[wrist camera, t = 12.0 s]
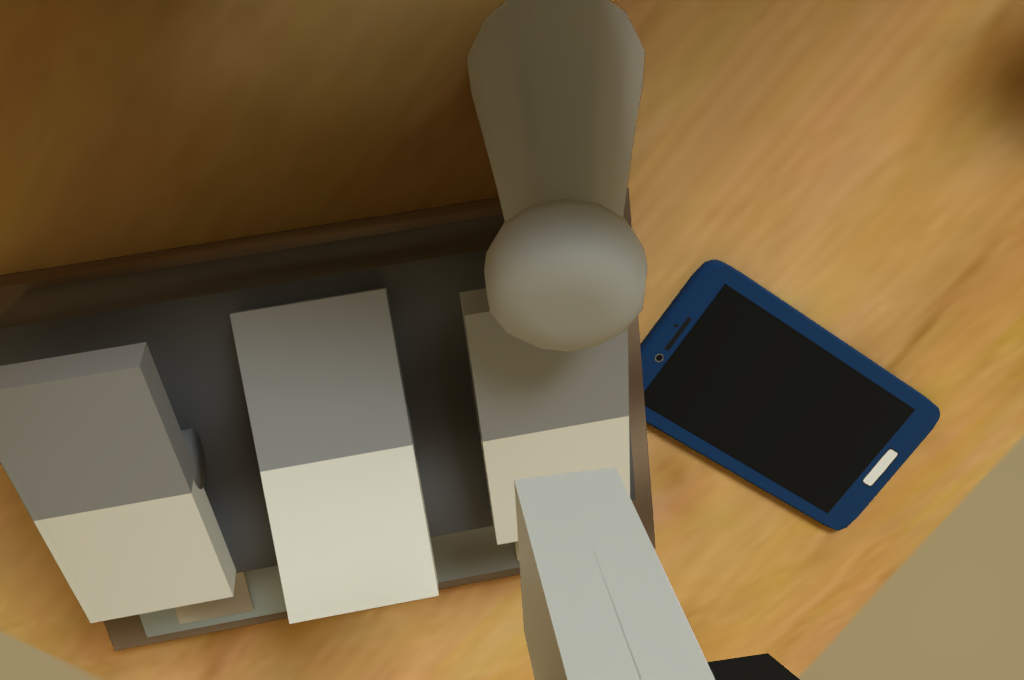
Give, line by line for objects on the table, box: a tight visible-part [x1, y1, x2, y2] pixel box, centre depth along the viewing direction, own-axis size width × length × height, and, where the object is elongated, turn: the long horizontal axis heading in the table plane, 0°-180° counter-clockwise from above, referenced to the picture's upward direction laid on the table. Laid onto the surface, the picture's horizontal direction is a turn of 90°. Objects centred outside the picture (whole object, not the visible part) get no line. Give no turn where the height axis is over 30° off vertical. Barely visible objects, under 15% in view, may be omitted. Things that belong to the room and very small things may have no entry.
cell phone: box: [640, 260, 940, 530], centre depth 41 cm, size 7×14×1 cm, turn 56°
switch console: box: [0, 187, 655, 651], centre depth 36 cm, size 16×23×5 cm
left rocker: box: [0, 342, 236, 623], centre depth 30 cm, size 10×5×3 cm, turn 8°
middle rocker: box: [230, 287, 439, 624], centre depth 31 cm, size 10×5×3 cm, turn 6°
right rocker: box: [459, 288, 630, 545], centre depth 31 cm, size 10×5×3 cm, turn 8°
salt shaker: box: [467, 0, 647, 352], centre depth 28 cm, size 6×6×13 cm
